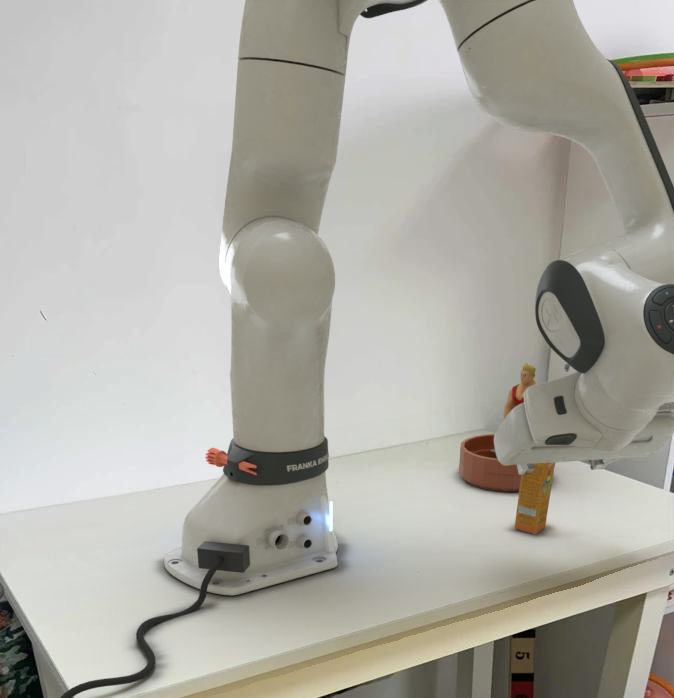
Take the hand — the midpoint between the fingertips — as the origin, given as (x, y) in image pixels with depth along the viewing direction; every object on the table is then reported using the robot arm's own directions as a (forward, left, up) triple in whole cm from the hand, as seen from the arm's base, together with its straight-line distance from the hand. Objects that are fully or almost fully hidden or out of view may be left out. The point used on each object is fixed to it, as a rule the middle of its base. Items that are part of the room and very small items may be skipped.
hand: (559, 466), depth 107 cm
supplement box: (+3, +5, -11) cm, 13 cm away
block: (+18, +20, -10) cm, 29 cm away
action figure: (+31, +26, -11) cm, 42 cm away
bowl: (+18, +20, -11) cm, 29 cm away
